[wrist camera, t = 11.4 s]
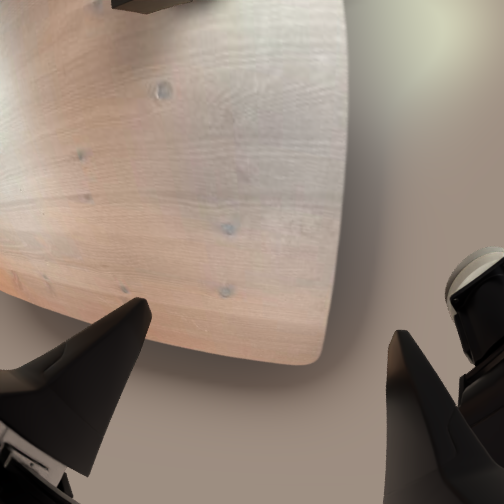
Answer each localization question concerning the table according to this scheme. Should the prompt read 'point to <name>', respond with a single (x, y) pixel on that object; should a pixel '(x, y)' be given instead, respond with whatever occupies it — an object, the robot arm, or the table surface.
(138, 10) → the knife
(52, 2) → the table surface
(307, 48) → the table surface
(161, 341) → the table surface
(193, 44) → the table surface
